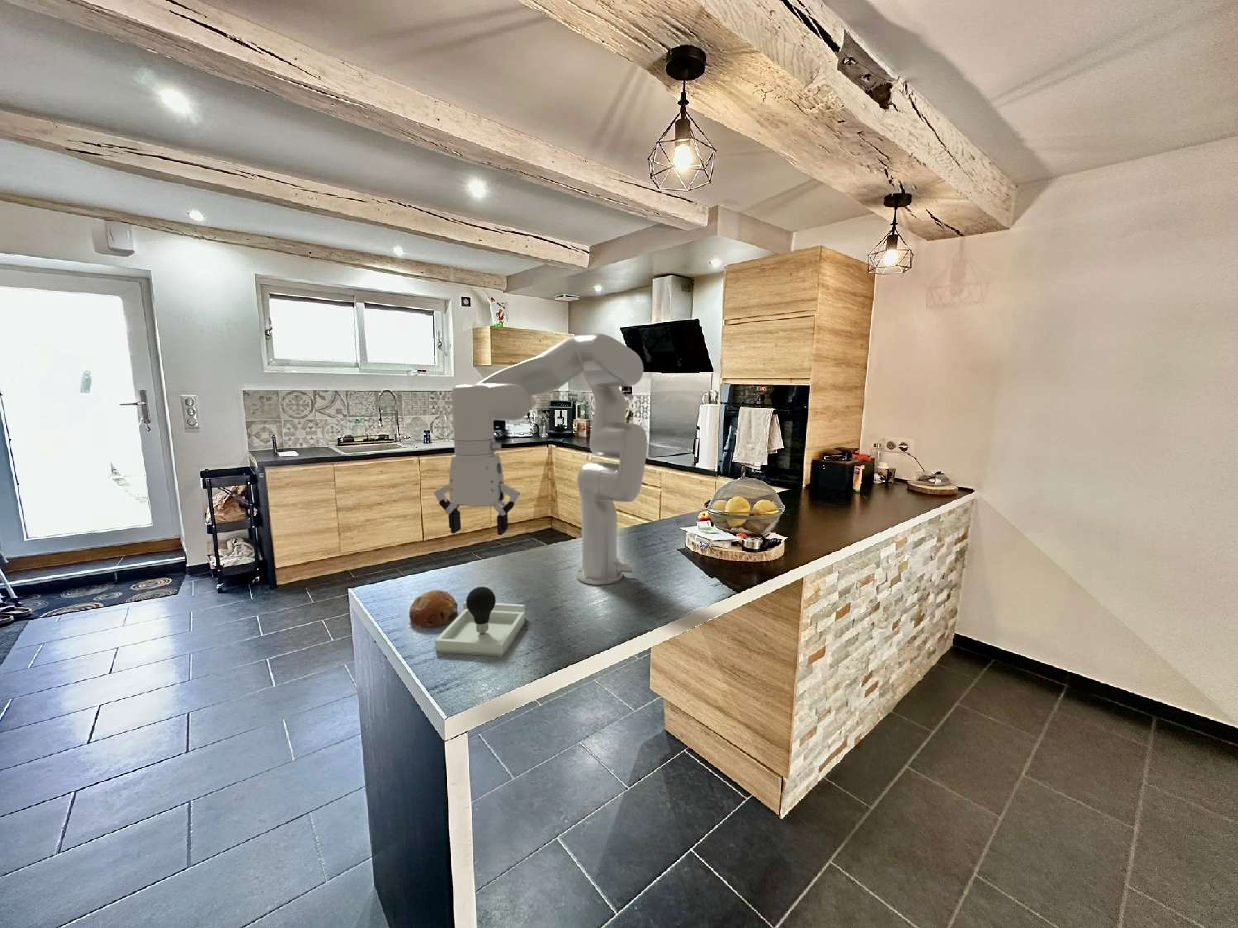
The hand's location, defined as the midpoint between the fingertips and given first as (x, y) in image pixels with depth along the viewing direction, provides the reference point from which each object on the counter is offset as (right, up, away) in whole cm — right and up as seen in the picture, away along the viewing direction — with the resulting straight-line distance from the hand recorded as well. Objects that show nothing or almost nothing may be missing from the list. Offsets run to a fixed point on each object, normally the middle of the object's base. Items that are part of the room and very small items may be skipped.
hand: (478, 532), depth 98 cm
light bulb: (0, -22, +3) cm, 22 cm away
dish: (0, -22, +3) cm, 22 cm away
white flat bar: (0, -21, +12) cm, 24 cm away
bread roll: (-13, -21, +11) cm, 27 cm away
